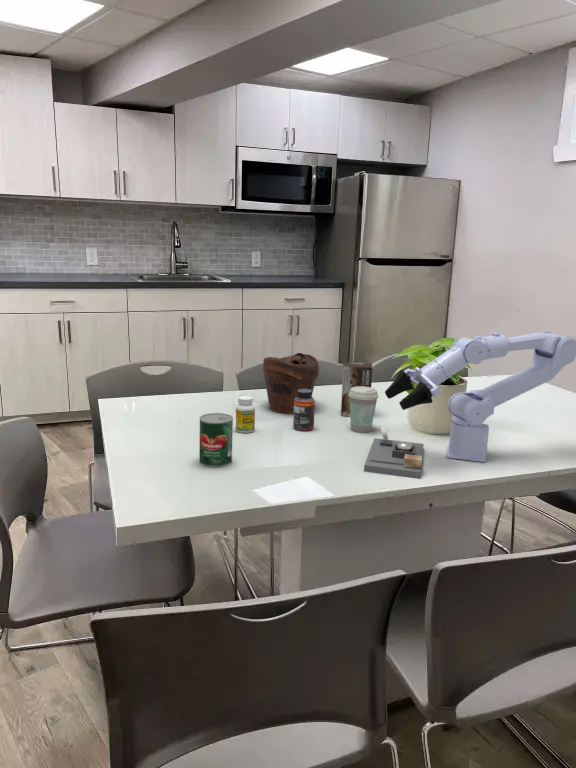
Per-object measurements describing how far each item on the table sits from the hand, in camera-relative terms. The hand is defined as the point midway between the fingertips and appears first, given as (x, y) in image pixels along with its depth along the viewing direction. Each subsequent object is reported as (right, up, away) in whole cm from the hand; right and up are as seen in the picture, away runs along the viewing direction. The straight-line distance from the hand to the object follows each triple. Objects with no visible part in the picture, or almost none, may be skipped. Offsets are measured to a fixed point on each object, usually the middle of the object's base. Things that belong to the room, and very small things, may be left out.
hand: (393, 400), depth 145 cm
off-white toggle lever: (0, -11, +10) cm, 15 cm away
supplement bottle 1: (-38, -9, +22) cm, 45 cm away
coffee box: (-5, -6, +42) cm, 42 cm away
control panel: (+1, -15, +4) cm, 15 cm away
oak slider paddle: (+4, -15, -4) cm, 16 cm away
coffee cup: (-5, -9, +27) cm, 29 cm away
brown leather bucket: (-25, -4, +46) cm, 53 cm away
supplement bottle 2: (-21, -9, +26) cm, 35 cm away
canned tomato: (-43, -15, -2) cm, 46 cm away
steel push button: (+3, -12, +3) cm, 13 cm away
